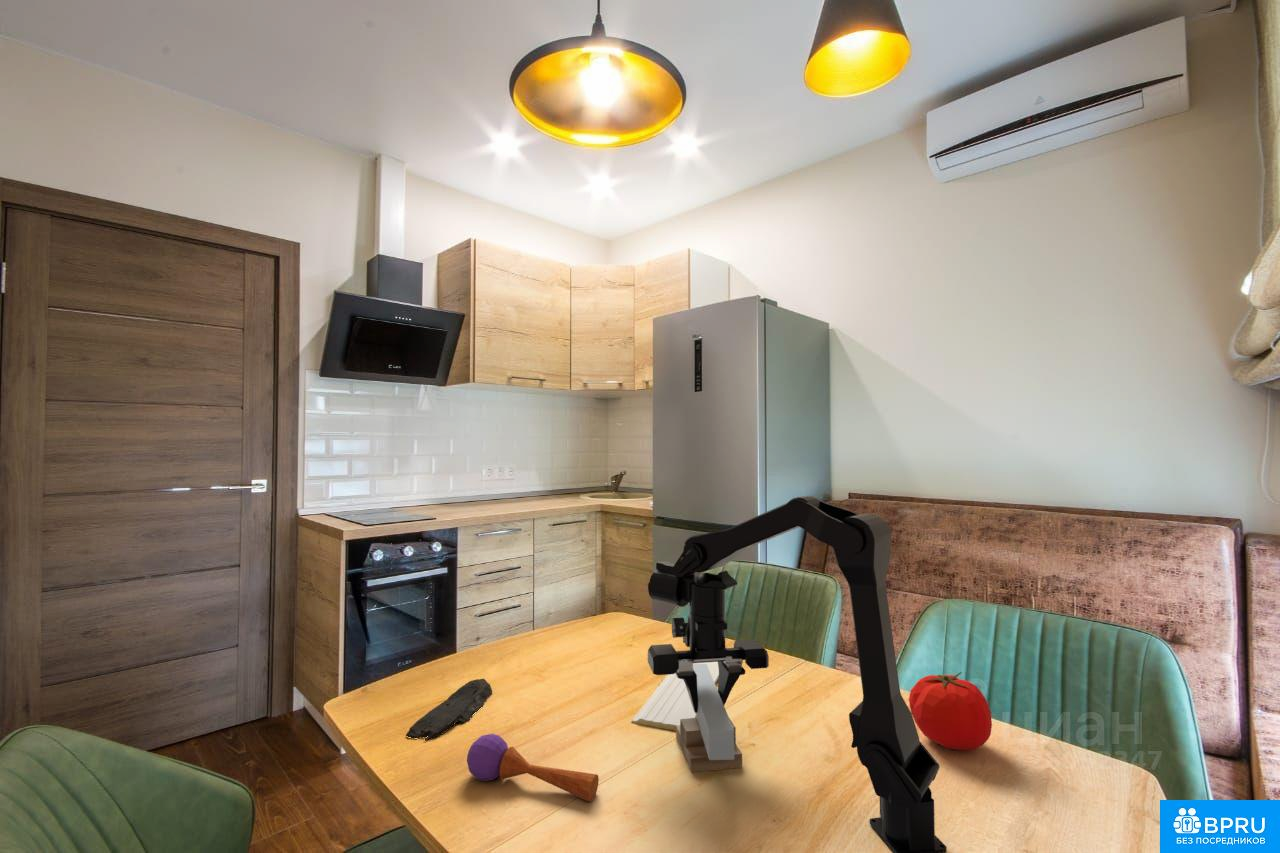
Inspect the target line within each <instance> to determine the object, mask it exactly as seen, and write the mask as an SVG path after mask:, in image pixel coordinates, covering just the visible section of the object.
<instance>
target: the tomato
mask: <svg viewBox="0 0 1280 853" xmlns="http://www.w3.org/2000/svg"><path fill="white" fill-rule="evenodd" d="M962 673H963V672H962V671H961V672H959V673H956V674H955V675H954V674H953V675H952V674H938V675H934V674H931V675H927V676H924V677H922V678H920V679H918V681H917V682H916V683H915V684H914V686H913V687H912V688H911V689H910V692H909V697H908V702H909V709H910V711H911V713H912V716H913V720H914V723H915V725H917V726H916V727H918V730H920V732H921V733H922V734H923V735H924V736H925V737H926V738H927V739H928V740H930V741H932V742H935V743H936V744H939V745H941V746H943V747H944V748H948V749H955V750H962V751H963V750H964V751H969V750H970V751H971V750H972V751H973V750H976V749H978V748H980V747H982V746H984V745H985V743H987V742H988V741H989V738H990V736H991V734H992V726H993V723H992V714H991V709H990V707H989V703H988V700H987V699H986V697H985V695H984V694H983V692H982V691H981V690H980V689H979V688H978V686H977V685H976V684H973V683H972V682H970V681H968V680H966V679H959V678H958V677H959V676H960V675H961V674H962Z"/></svg>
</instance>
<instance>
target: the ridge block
mask: <svg viewBox="0 0 1280 853" xmlns="http://www.w3.org/2000/svg"><path fill="white" fill-rule="evenodd" d="M729 719H730V722H731V724H732V726H733V729H734V760H709V757H708V754H707V751H706V747H705V744H704V741H703V737H702V734H701V730H700V727H699V724H698V720H697V718H687V719H680V725H678V726H676V732H675V738H676V741H677V743H678V745H679V747H680V750H681V751H682V752H681V753H682V754H683V756H684V759H685V761H686V764H687V766H688V768H689V770H690V772H691V773H694V772H696V773H697V772H707V771H716V770H717V771H718V770H725V769H726V770H728V769H729V770H730V769H736V768H738V769H739V768H743V753H742V751H741V750H740V748H739V747H738V745H737V742H736V739H737V732H736V728H737V727H736V726H735V724H734V722H733V721H732V720H731V718H730V717H729Z"/></svg>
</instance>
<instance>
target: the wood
mask: <svg viewBox="0 0 1280 853" xmlns="http://www.w3.org/2000/svg"><path fill="white" fill-rule="evenodd" d="M492 692H493V689H492V686H491V683H489V682H488V681H487V680H486V679H485V678H479V679H478V678H477V679H473V680H470V681H468V682H466V683H465V684H463V685H462V686H461V687H459V688H458V689H457V690H456V691H454V692H453V693H452V694H451V695H449V697H447V699H446V700H443V702H441V703H439V704H438V705H437V706H436V707H434V708H432V709H431V710H429V711H428V712H427V713H426V714H424V715H423V716H422V717H420V718H419V719H418V720H416V722H415V723H414V724H412V726H410V727H409V730H408V731H407V733H406V734H405V737H406V736H408V737H411V738H419V739H421V738H423V737H427V736H428V737H427V738H425V741H426V742H427V741H428V740H430V738H431V739H435V738H437V737H439V736H440V735H442V733H443V734H444V733H446V730H447V729H448V730H450V729H451V728H452V727H453V726H454V725H455V724H456V723H459V722H460V723H461V724H465V722H466V723H468V722H469V721H470V720H471V719H472V718H473V717H472V715H473V714H474V713H475V712H477V711H478V710H479V709H480V708H481V707H482V708H483V707H484V704H485V702H486V701H487V700H488V699H489V697H491V695H492ZM482 708H481V709H482ZM481 709H480V710H481ZM480 710H479V711H480ZM479 711H478V712H479ZM478 712H477V713H478ZM474 715H475V714H474ZM474 715H473V716H474ZM470 718H471V719H470ZM467 721H468V722H467ZM454 723H455V724H454ZM453 724H454V725H453ZM452 725H453V726H452ZM451 726H452V727H451ZM450 727H451V728H450ZM448 730H447V731H448ZM439 734H440V735H439ZM436 736H437V737H436ZM420 737H421V738H420Z"/></svg>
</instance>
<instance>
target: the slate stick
mask: <svg viewBox="0 0 1280 853" xmlns="http://www.w3.org/2000/svg"><path fill="white" fill-rule="evenodd" d="M693 670H694V672H695V673H696V675H697V690H698V711H697V713H695V714H696V717H697V720H698V724H699V727H700V730H701V734H702V737H703V741H704V744H705V747H706V751H707V754H708V757H709V760H734V729H733V726H732V724H731V722H730V720H731V718H730V717H729V715H728V712H727V709H726V707H725V705H723V702H722V700H721V698H720V695H719V693H718V687H717V686H716V684H715V683H714V681H713V678H712V676H711V673H710V671H709V669H708V666H707V664H693ZM729 718H730V719H729Z"/></svg>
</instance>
